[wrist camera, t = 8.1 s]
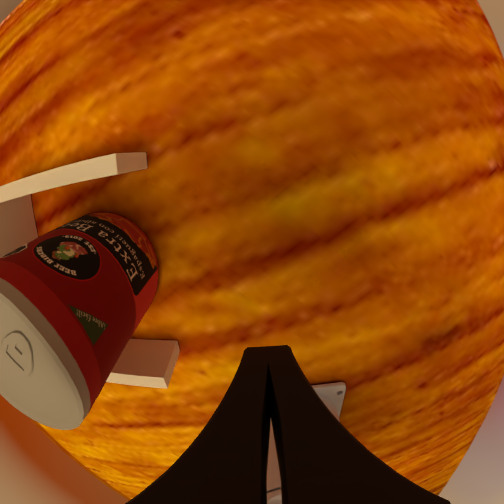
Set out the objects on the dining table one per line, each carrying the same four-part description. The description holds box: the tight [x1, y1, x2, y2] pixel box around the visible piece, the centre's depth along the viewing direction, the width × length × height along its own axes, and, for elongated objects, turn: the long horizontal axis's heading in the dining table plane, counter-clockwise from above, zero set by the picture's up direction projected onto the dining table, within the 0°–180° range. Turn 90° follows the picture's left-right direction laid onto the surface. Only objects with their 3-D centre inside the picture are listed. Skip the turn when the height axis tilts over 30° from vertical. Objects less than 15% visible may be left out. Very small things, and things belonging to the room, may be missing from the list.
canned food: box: [0, 212, 158, 430], centre depth 12 cm, size 8×8×11 cm
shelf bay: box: [0, 152, 180, 388], centre depth 15 cm, size 14×11×6 cm
